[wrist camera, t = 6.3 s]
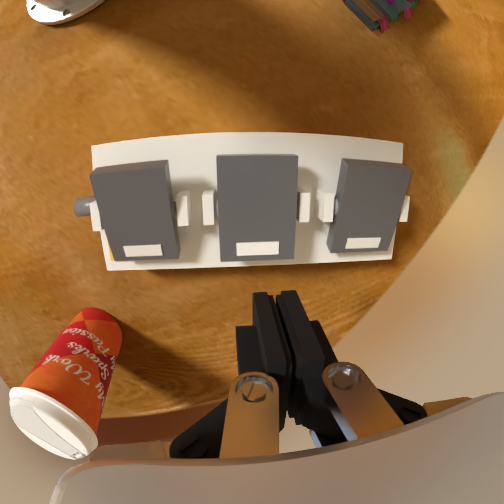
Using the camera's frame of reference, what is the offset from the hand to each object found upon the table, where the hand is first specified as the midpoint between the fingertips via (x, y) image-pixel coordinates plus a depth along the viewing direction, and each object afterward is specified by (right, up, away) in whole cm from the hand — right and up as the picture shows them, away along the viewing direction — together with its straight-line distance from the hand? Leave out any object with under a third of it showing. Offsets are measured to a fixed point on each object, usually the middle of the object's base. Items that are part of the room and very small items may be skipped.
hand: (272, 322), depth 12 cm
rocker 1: (-9, +5, +7) cm, 12 cm away
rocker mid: (-1, +6, +8) cm, 10 cm away
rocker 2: (+7, +6, +8) cm, 13 cm away
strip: (-3, +8, +13) cm, 15 cm away
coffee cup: (-18, -6, +17) cm, 25 cm away
